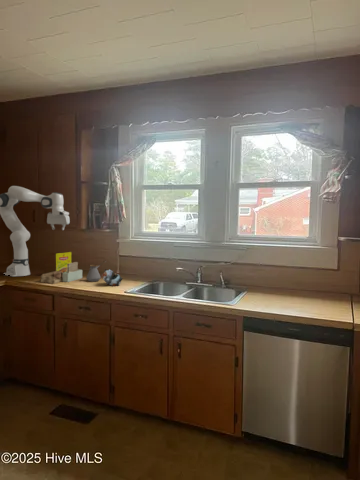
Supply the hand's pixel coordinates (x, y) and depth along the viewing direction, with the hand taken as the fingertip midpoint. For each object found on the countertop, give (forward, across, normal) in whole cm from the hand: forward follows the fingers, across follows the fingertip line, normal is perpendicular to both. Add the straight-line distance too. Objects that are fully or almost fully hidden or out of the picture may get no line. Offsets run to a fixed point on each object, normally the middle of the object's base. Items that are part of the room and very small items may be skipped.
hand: (58, 229), depth 282 cm
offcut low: (+42, +2, -4) cm, 42 cm away
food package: (+41, -8, +16) cm, 45 cm away
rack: (+41, 0, -4) cm, 41 cm away
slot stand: (+41, +10, +5) cm, 43 cm away
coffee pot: (+41, +28, +14) cm, 52 cm away
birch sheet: (+41, +10, +5) cm, 43 cm away
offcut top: (+38, +3, -5) cm, 38 cm away
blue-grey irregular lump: (+41, +49, +4) cm, 64 cm away
